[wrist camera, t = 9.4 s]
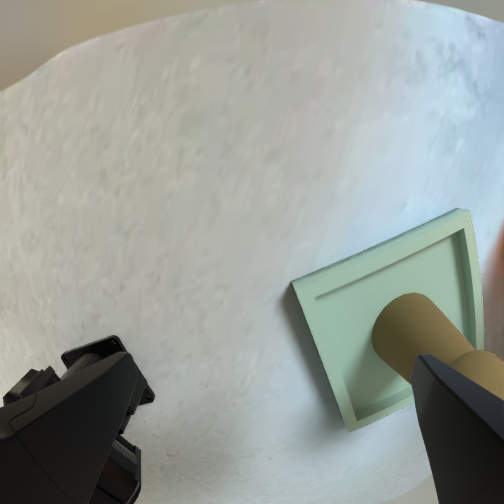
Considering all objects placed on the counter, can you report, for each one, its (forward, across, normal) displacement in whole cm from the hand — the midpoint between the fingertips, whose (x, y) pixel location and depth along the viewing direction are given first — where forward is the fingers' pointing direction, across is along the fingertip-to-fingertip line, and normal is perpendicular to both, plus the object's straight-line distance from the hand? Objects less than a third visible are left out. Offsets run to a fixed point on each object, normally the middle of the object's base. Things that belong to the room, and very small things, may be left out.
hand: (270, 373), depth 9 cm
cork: (+13, -10, +7) cm, 18 cm away
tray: (+14, -10, +7) cm, 18 cm away
